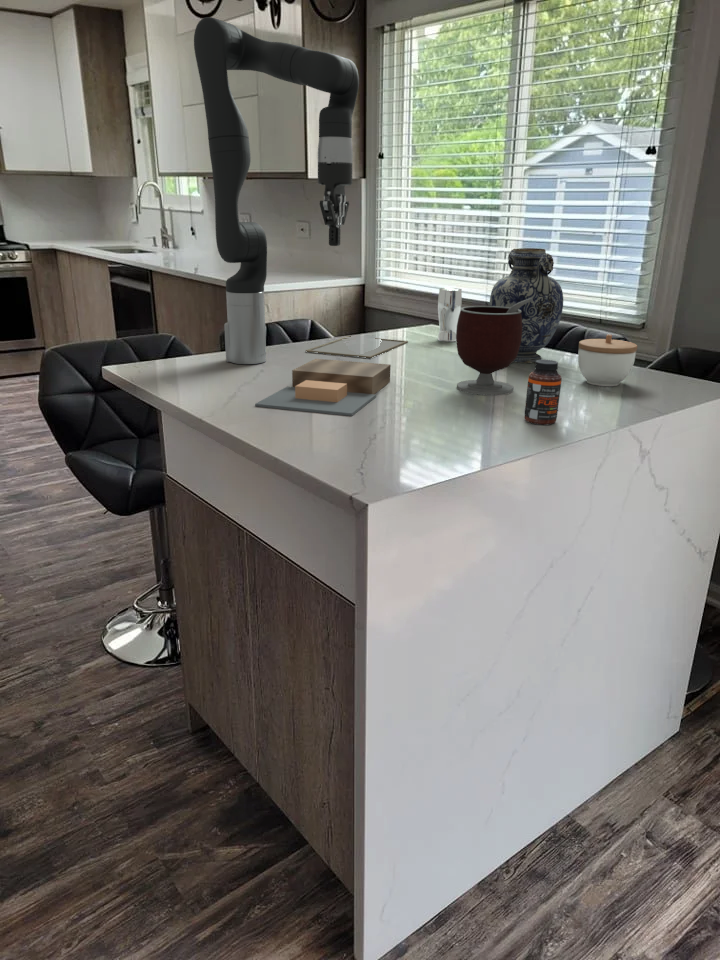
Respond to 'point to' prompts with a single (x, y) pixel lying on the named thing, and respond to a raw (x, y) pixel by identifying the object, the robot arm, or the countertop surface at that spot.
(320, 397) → the tan rectangular block
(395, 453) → the countertop surface
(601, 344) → the lidded bowl
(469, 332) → the mate gourd
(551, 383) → the supplement bottle
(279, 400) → the slate mat
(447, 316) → the beer glass
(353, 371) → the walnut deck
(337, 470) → the countertop surface
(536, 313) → the decorative vase
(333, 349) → the picture frame
